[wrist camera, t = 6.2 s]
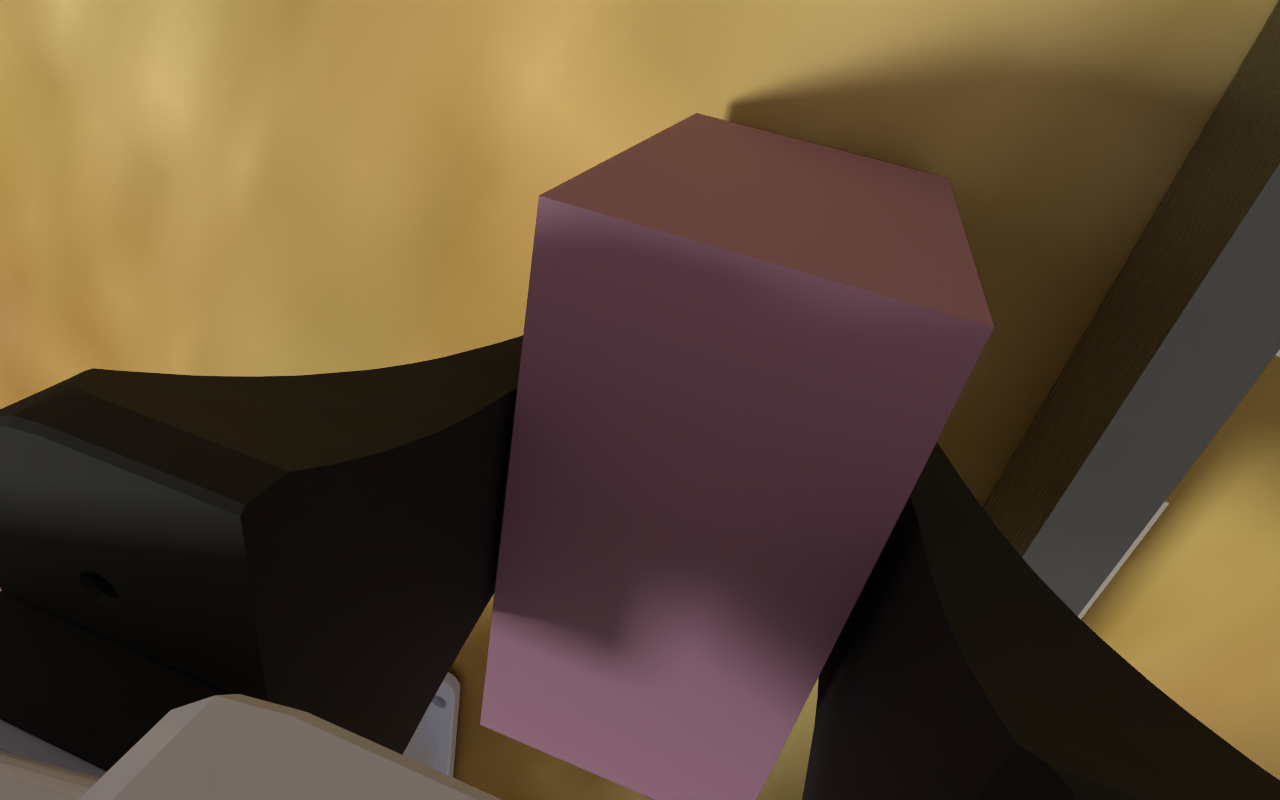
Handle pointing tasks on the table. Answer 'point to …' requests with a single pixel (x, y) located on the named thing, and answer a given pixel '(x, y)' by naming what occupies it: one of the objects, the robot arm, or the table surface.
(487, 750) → the table surface
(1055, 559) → the price rail
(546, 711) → the carton
